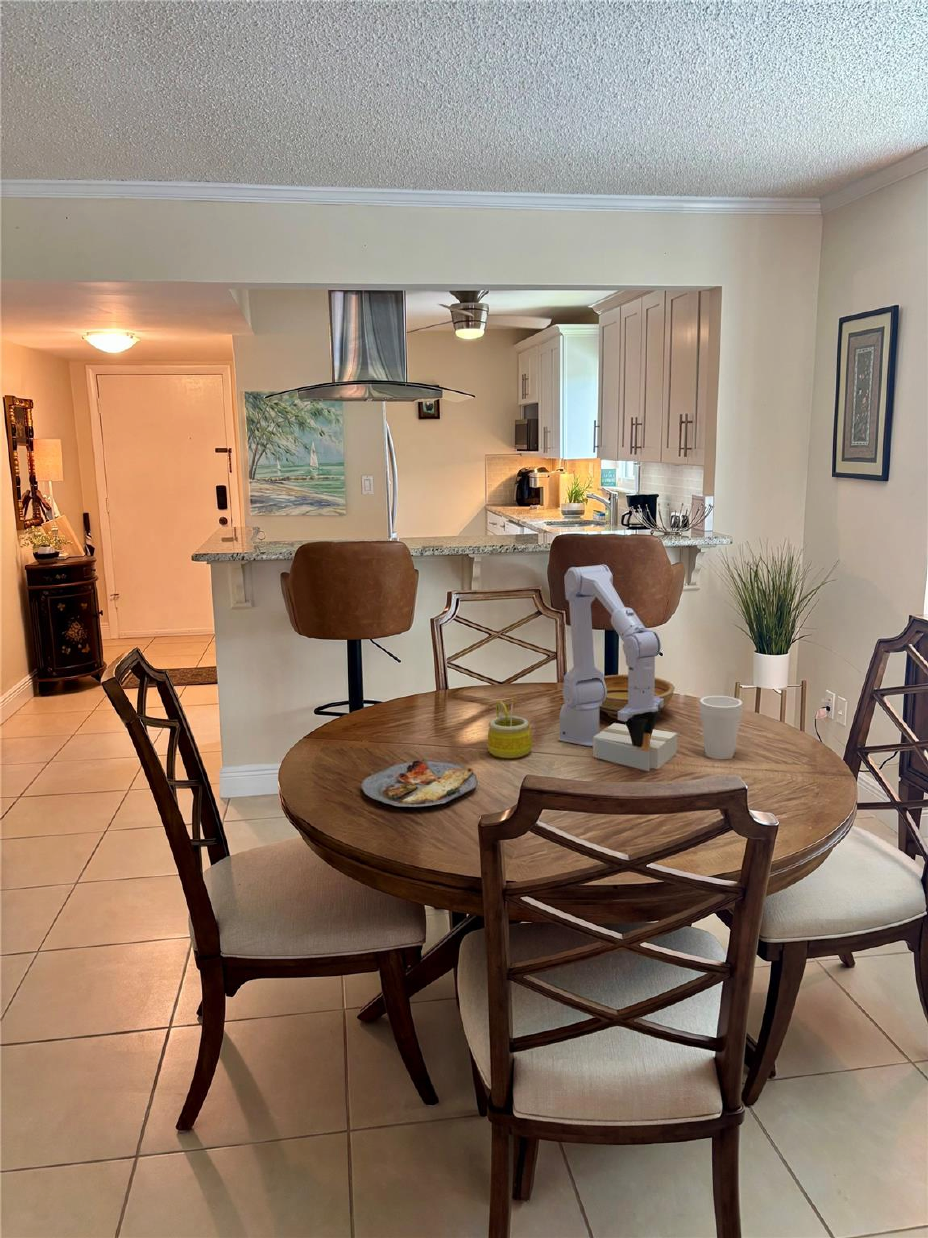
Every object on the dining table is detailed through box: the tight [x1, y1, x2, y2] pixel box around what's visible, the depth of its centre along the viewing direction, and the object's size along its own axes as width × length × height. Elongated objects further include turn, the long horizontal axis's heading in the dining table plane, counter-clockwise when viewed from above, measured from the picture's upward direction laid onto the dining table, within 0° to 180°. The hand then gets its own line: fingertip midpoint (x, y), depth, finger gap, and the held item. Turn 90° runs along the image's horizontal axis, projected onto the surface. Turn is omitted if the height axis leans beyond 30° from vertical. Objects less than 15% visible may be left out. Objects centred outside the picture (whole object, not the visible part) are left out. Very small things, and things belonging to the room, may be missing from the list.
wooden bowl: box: [599, 674, 676, 720], centre depth 240 cm, size 30×24×8 cm
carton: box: [592, 722, 678, 770], centre depth 209 cm, size 16×12×5 cm
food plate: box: [361, 758, 479, 809], centre depth 192 cm, size 25×23×4 cm
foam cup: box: [699, 695, 743, 760], centre depth 207 cm, size 10×9×13 cm
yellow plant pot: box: [486, 698, 534, 759], centre depth 213 cm, size 13×11×12 cm
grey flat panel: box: [595, 732, 651, 772], centre depth 202 cm, size 14×1×9 cm, turn 48°
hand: (640, 744), depth 198 cm, fingers open, 2 cm apart
